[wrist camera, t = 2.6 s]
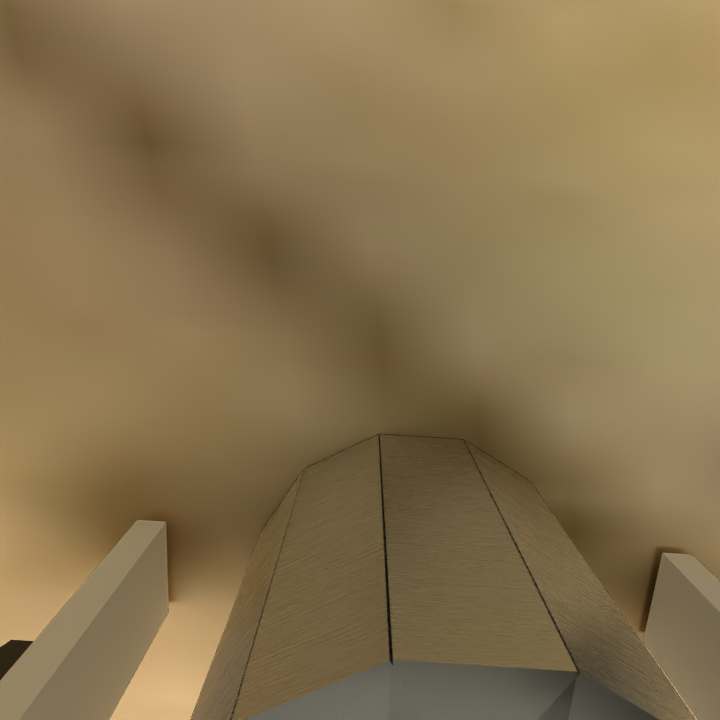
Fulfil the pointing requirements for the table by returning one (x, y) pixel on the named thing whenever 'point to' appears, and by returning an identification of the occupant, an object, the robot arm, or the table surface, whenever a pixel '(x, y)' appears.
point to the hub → (425, 603)
